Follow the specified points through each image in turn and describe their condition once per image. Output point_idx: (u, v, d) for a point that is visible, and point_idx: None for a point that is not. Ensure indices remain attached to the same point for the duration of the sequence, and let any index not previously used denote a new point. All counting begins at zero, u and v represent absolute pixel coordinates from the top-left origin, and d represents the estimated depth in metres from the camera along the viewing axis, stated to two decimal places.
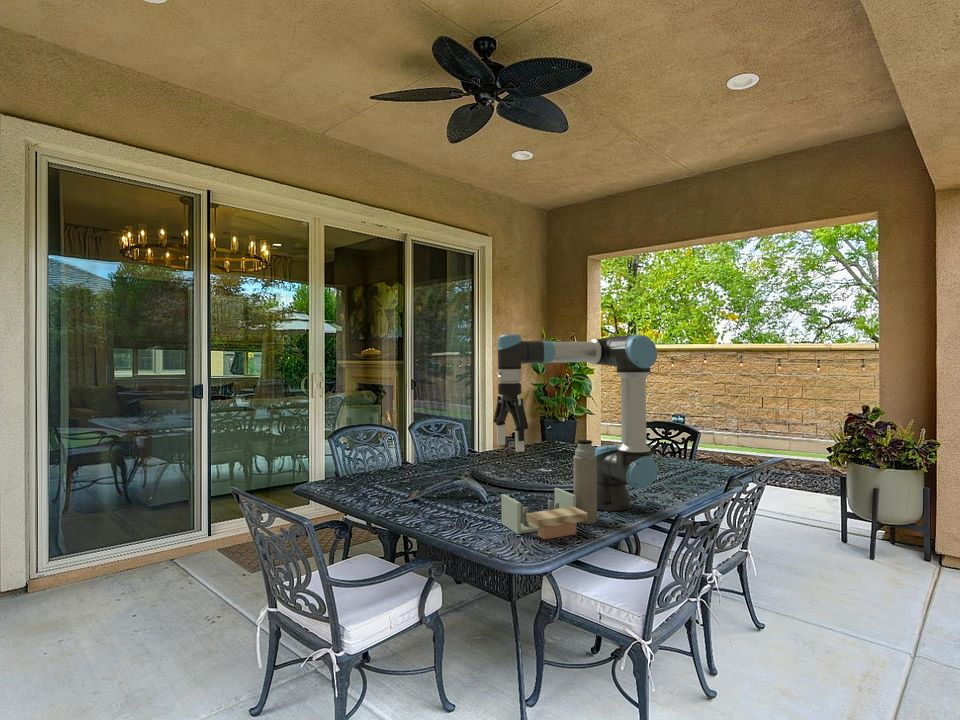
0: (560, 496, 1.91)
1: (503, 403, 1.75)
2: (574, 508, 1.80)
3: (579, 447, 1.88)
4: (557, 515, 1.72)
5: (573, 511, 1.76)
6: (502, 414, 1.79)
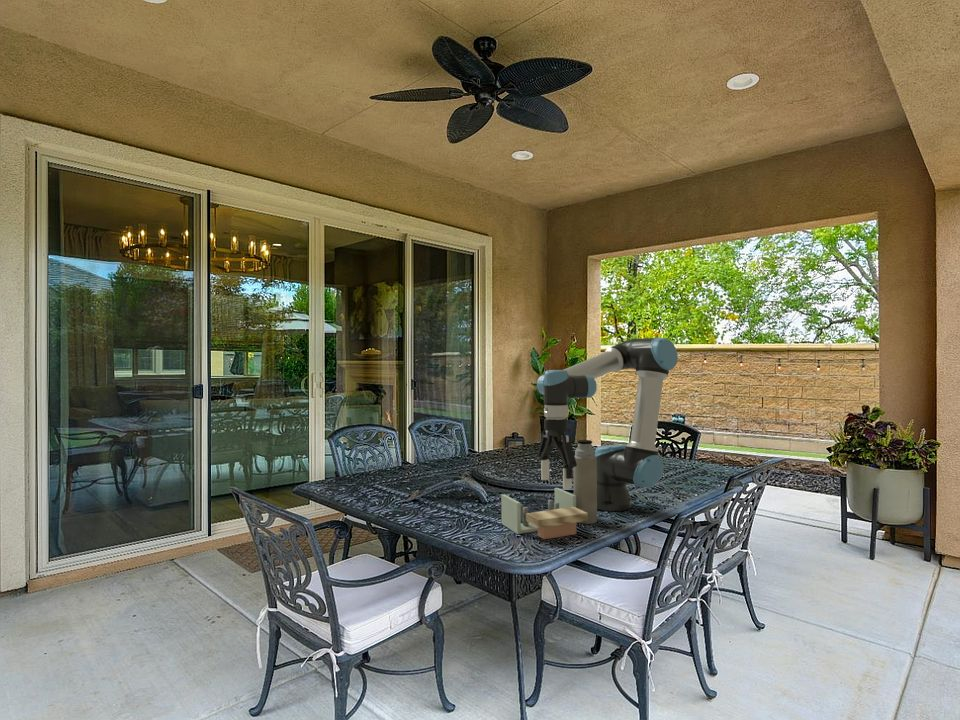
0: (560, 496, 1.91)
1: (549, 439, 1.74)
2: (574, 508, 1.80)
3: (579, 447, 1.88)
4: (557, 515, 1.72)
5: (573, 511, 1.76)
6: (547, 449, 1.78)
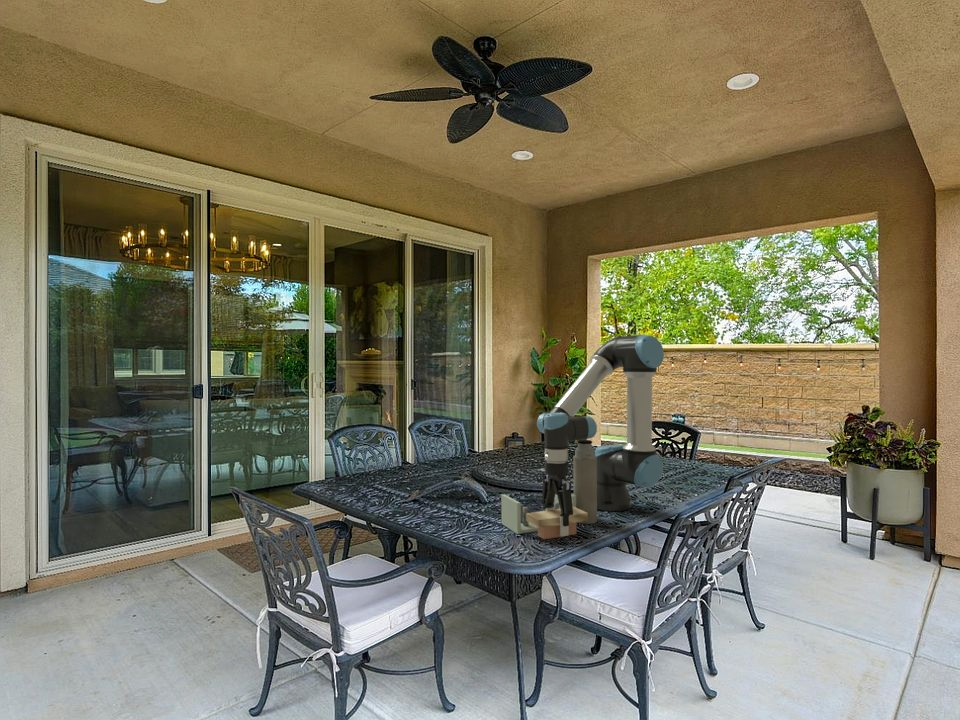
0: None
1: (550, 481, 1.75)
2: (574, 508, 1.80)
3: (579, 447, 1.88)
4: (557, 515, 1.72)
5: (573, 511, 1.76)
6: (550, 494, 1.77)
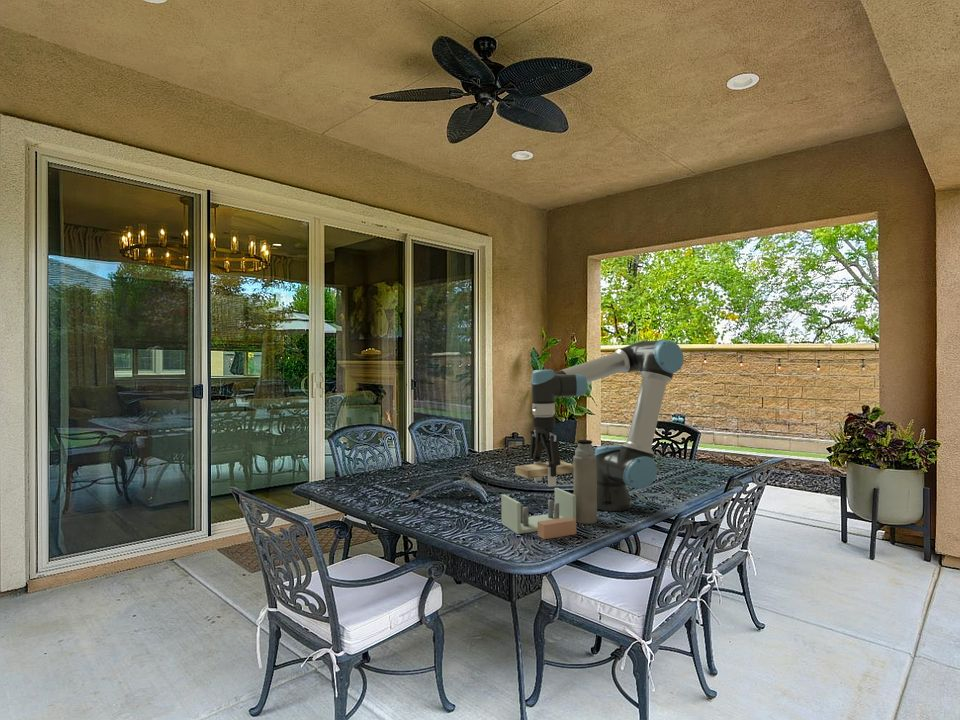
0: (560, 496, 1.91)
1: (538, 435, 1.82)
2: (561, 461, 1.88)
3: (579, 447, 1.88)
4: (545, 467, 1.79)
5: (560, 464, 1.84)
6: (538, 448, 1.84)
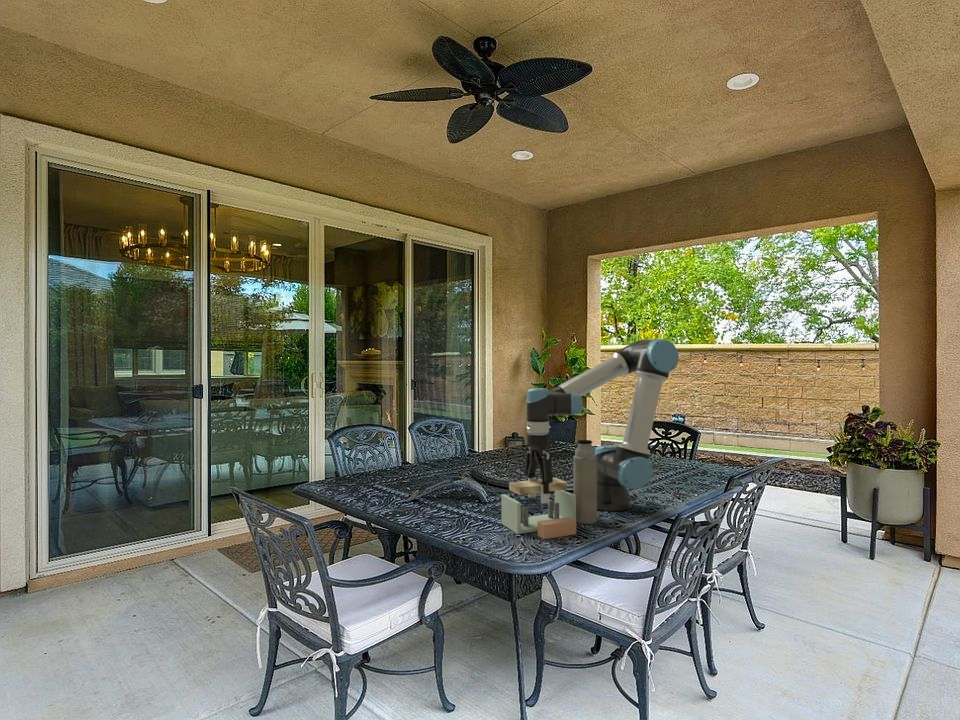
0: (560, 496, 1.91)
1: (532, 452, 1.85)
2: (555, 478, 1.91)
3: (579, 447, 1.88)
4: (538, 484, 1.83)
5: (554, 481, 1.87)
6: (532, 465, 1.88)
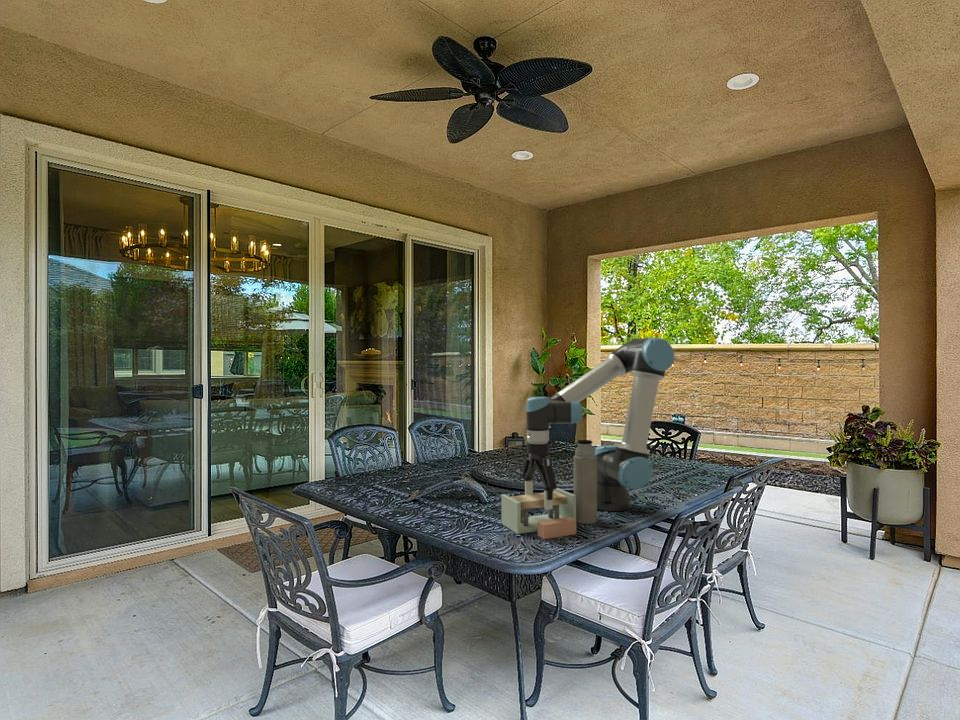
0: None
1: (532, 462, 1.86)
2: (555, 492, 1.91)
3: (579, 447, 1.88)
4: (538, 498, 1.83)
5: (554, 495, 1.87)
6: (530, 471, 1.89)
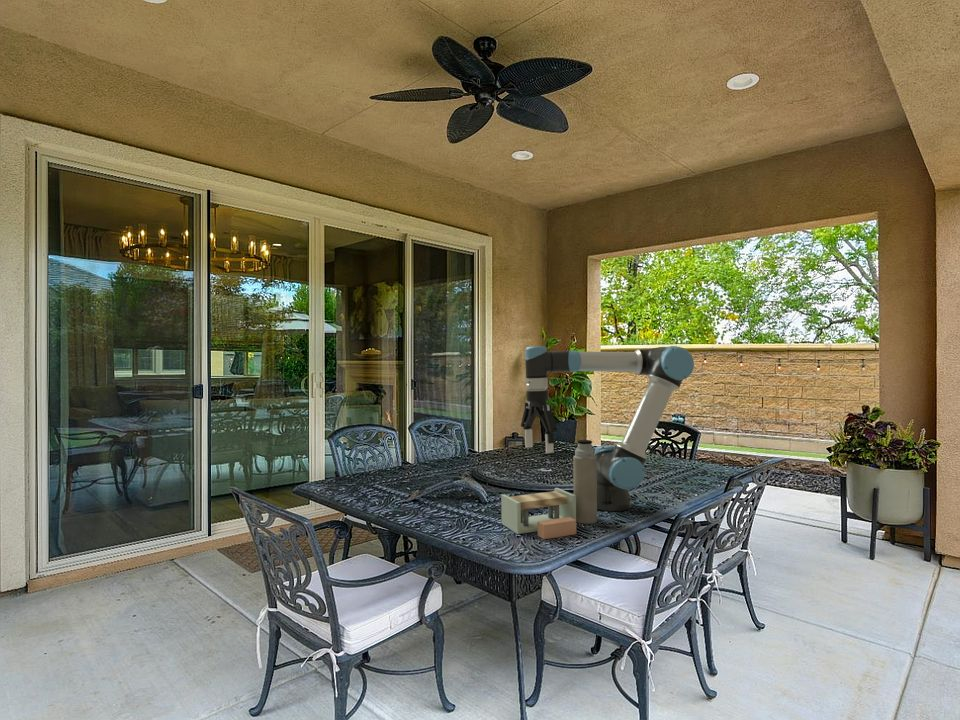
0: None
1: (531, 409, 1.91)
2: (555, 492, 1.91)
3: (579, 447, 1.88)
4: (538, 498, 1.83)
5: (554, 495, 1.87)
6: (530, 419, 1.95)
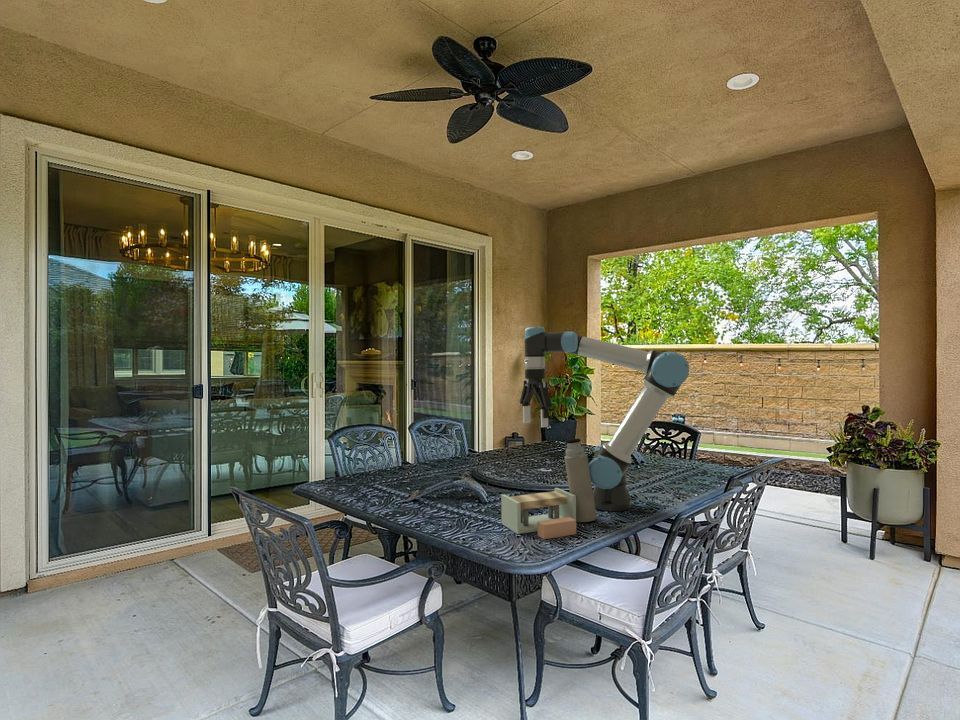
0: None
1: (529, 386, 2.03)
2: (555, 492, 1.91)
3: (568, 447, 1.89)
4: (538, 498, 1.83)
5: (554, 495, 1.87)
6: (528, 396, 2.07)
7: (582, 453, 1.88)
